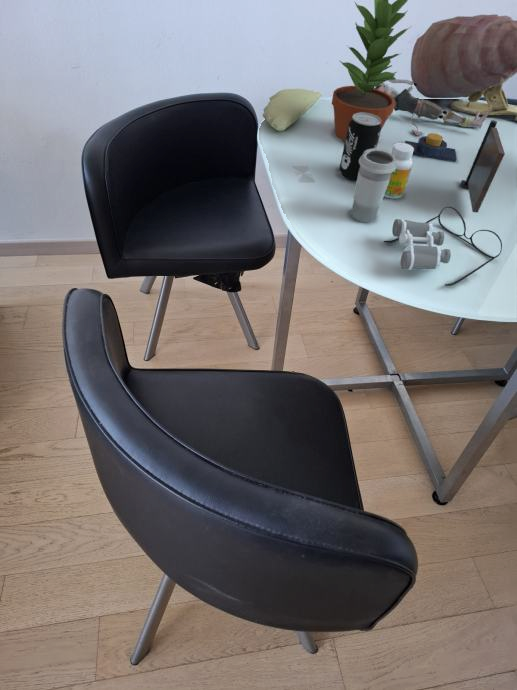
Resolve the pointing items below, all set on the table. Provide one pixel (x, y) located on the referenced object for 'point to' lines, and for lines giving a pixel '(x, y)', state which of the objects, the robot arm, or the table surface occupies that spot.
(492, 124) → the upright peg on plate
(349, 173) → the beverage can
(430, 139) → the bell button
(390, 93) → the toy
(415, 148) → the doorbell
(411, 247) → the binoculars
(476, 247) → the glasses
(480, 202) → the door
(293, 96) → the dumpling
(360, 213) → the cup
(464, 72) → the sculpture
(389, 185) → the supplement bottle
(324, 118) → the table surface
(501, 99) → the sandal
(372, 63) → the potted plant
